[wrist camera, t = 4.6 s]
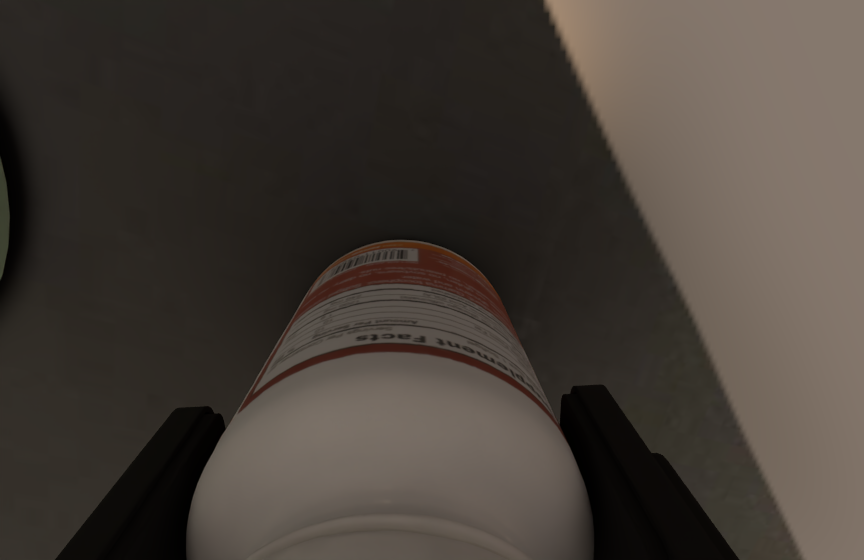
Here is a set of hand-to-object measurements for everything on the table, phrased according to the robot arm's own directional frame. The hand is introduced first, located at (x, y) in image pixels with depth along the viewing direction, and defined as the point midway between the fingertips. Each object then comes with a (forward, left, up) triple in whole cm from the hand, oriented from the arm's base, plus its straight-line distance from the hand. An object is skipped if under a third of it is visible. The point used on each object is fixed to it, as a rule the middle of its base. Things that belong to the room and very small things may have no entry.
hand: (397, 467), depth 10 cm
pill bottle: (0, 0, -6) cm, 6 cm away
